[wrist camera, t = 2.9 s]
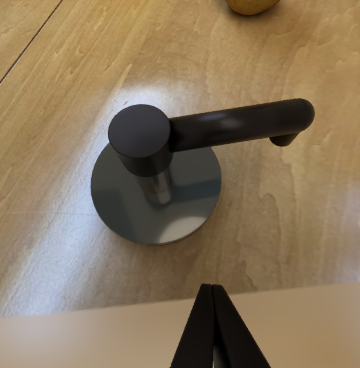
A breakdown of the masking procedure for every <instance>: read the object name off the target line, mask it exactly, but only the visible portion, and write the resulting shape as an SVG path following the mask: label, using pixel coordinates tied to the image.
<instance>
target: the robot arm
mask: <svg viewBox="0 0 360 368" xmlns="http://www.w3.org/2000/svg"><path fill="white" fill-rule="evenodd" d="M213 361H214V368H271V367H270V366H269V364H268V362H267V360H266V358H265V357H264V355H263V353H262V352H261V350H260V348H259V347H258V345H257V343H256V342H255V340H254V338H253V337H252V335H251V333H250V332H249V330H248V328H247V327H246V325H245V323H244V321H243V320H242V318H241V316H240V315H239V313H238V311H237V310H236V308H235V306H234V305H233V303H232V301H231V300H230V298H229V296H228V295H227V293H226V291H225V289H224V288H223V286H222V285H217V284H213V285H212V286H211V284H201V286H200V289H199V292H198V294H197V297H196V300H195V303H194V305H193V308H192V310H191V313H190V316H189V318H188V321H187V324H186V326H185V329H184V332H183V334H182V337H181V340H180V342H179V345H178V347H177V350H176V353H175V355H174V358H173V361H172V363H171V367H170V368H213Z"/></svg>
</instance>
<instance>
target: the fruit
mask: <svg viewBox="0 0 360 368" xmlns="http://www.w3.org/2000/svg"><path fill="white" fill-rule="evenodd" d="M279 1H280V0H226V2H227V4H228V5H229V6H230V7H231V8H232V9H233V10H234V11H236V12H238V13H240V14H243V15H254V14H257V13H260V12H262V11H264V10H266V9H268V8H270V7H272V6H273V5H275V4H276V3H277V2H279Z"/></svg>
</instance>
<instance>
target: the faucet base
mask: <svg viewBox="0 0 360 368" xmlns="http://www.w3.org/2000/svg"><path fill="white" fill-rule="evenodd" d="M220 190H221V171H220V166H219V163H218V160H217V158H216V155H215V153H214V152H213V150H212V149H211V147H205V148H199V149H193V150H187V151H180V152H174V154H173V159H172V161H171V163H170V165H169V166H168V168H167V169H166V170H164V171H163V172H162V173H160V174H158V175H156V176H152V177H139V176H136V175H134V174H132V173H130V172H129V171H128V170H127V169H126V168H125V167H124V165H123V163H122V162H121V160H120V159H119V157H118V156H117V154H116V152H115V151H114V149H113V148H112V146H111V144H110V142H109V143H108V144H107V146H106V147H105V148H104V149H103V151H102V152H101V154H100V155H99V157H98V159H97V161H96V163H95V165H94V169H93V172H92V177H91V196H92V200H93V204H94V206H95V209H96V211H97V213H98V214H99V216H100V218H101V219H102V220H103V222H104V223H105V224H106V225H107V226H108V227H109V228H110V229H111V230H112V231H114V232H115V233H117V234H118V235H120V236H122V237H124V238H126V239H128V240H130V241H133V242H136V243H139V244H144V245H154V246H159V245H167V244H171V243H175V242H178V241H180V240H183V239H185V238H187V237H188V236H190V235H192V234H193V233H194V232H196V231H197V230H198V229H199V228H200V227H201V226H202V225H203V224H204V223H205V222H206V221H207V220H208V218H209V217H210V215H211V213H212V212H213V210H214V208H215V206H216V203H217V201H218V198H219V194H220Z"/></svg>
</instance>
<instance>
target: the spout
mask: <svg viewBox="0 0 360 368" xmlns="http://www.w3.org/2000/svg"><path fill="white" fill-rule="evenodd" d="M314 116H315V111H314V107H313V106H312V104H311V103H310V102H309V101H307V100H305V99H301V98H297V99H289V100H283V101H277V102H270V103H264V104H257V105H251V106H244V107H238V108H232V109H225V110H219V111H212V112H206V113H199V114H193V115H186V116H180V117H174V118H168V117H167V116H166V115H165V114H164V113H163V112H162V111H161V110H160V109H158V108H156V107H154V106H151V105H145V104H138V105H132V106H129V107H127V108H125V109H123V110H121V111H120V112H119V113H118V114H116V115H115V117H114V118H113V119H112V121H111V123H110V125H109V129H108V139H109V142H110V144H111V146H112V148H113V149H114V151H115V152H116V154H117V156H118V157H119V159H120V160H121V162H122V163H123V165H124V167H125V168H126V169H127V170H128V171H129V172H130V173H132V174H134V175H136V176H139V177H152V176H156V175H158V174H160V173H162V172H163V171H164V170H166V169H167V168H168V166H169V165H170V163H171V161H172V159H173V154H174V152H180V151H187V150H193V149H199V148H205V147H212V146H218V145H224V144H230V143H237V142H243V141H249V140H255V139H262V138H268V137H269V139H270V141H271V142H272V143H273V144H275V145H277V146H281V147H283V146H287V145H289V144H290V143H291V142H292V141H293V140H294V139H295V137H296V136H297V135H298V134H299V133H300V132H301V131H303V130H305V129H307V128H308V127H309V126H310V125H311V123H312V122H313V119H314Z"/></svg>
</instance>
